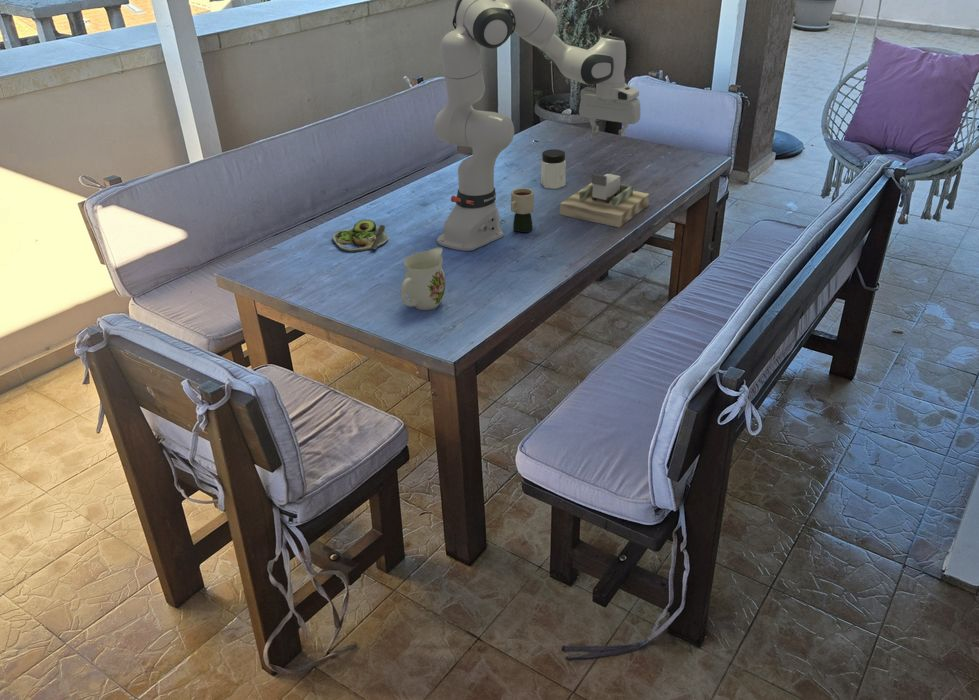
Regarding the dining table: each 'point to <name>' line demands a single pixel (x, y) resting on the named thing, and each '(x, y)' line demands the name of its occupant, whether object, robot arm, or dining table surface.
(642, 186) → the dining table surface
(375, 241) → the avocado toast plate
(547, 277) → the dining table surface
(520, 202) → the character mug
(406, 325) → the dining table surface
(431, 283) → the pitcher
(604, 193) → the grey boxy block
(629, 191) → the dock
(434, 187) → the dining table surface
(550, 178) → the jar
